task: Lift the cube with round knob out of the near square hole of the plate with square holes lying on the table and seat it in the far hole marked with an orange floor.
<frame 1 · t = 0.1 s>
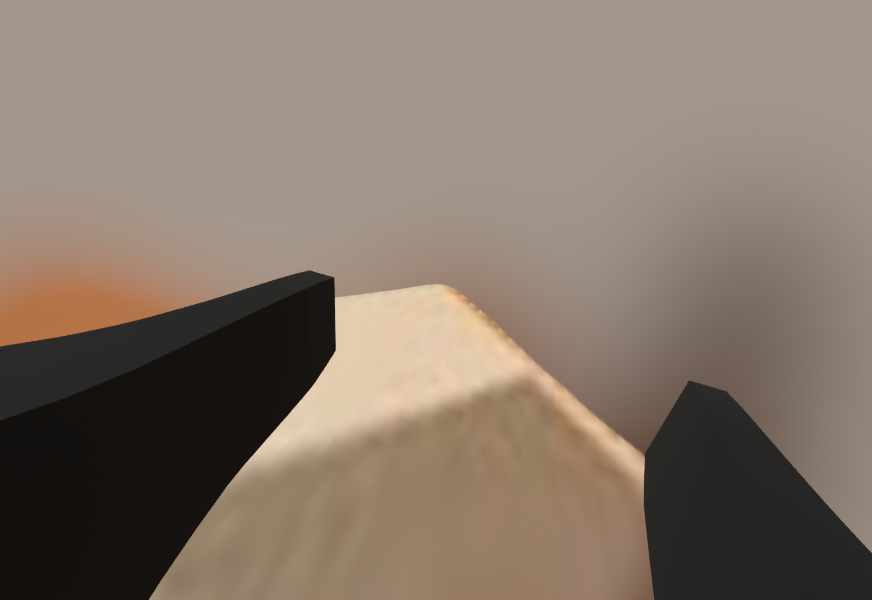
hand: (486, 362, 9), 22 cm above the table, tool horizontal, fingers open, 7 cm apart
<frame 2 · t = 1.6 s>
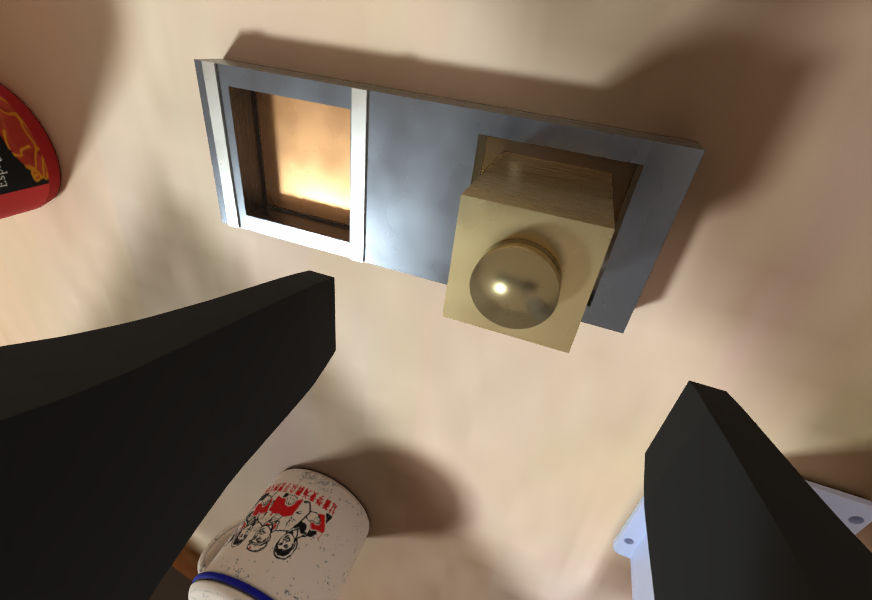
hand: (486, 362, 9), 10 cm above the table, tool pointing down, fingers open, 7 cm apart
cube with round knob: (542, 212, 17), resting in plate with square holes
teacup with lid: (310, 499, 35), on the table
plate with square holes: (419, 185, 18), on the table
canned food: (15, 142, 25), on the table
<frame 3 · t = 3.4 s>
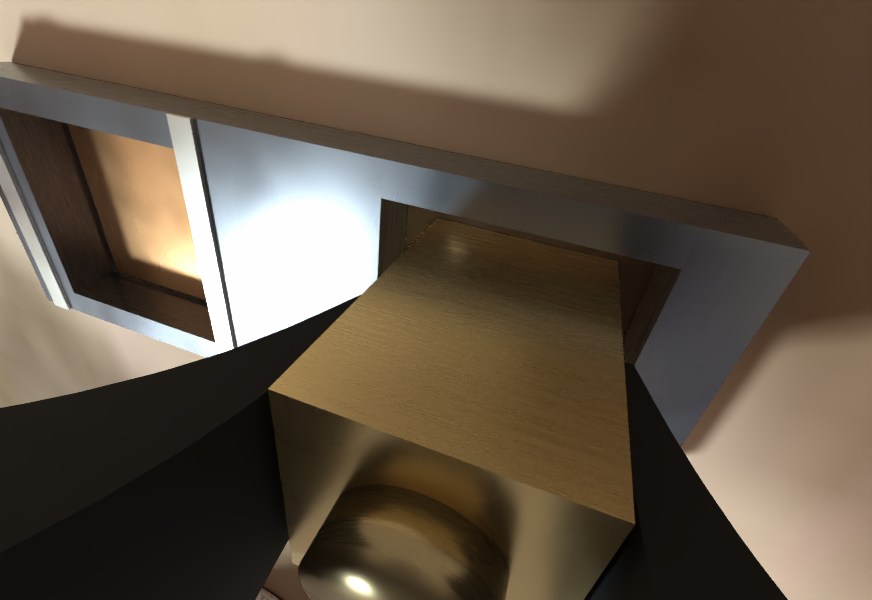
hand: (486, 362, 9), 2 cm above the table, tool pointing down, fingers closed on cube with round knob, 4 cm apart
cube with round knob: (504, 312, 10), resting in plate with square holes, touching gripper
plate with square holes: (316, 260, 11), on the table
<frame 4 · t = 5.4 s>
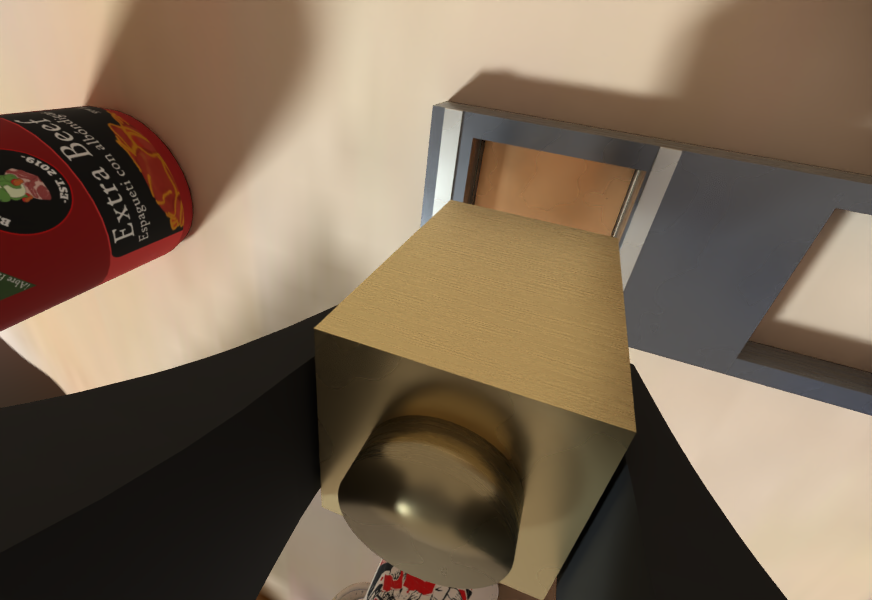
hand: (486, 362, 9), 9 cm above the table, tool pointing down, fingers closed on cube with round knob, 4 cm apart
cube with round knob: (512, 290, 11), point 6 cm above the table, touching gripper
teacup with lid: (425, 560, 32), on the table
plate with square holes: (687, 253, 15), on the table
canned food: (139, 182, 22), on the table
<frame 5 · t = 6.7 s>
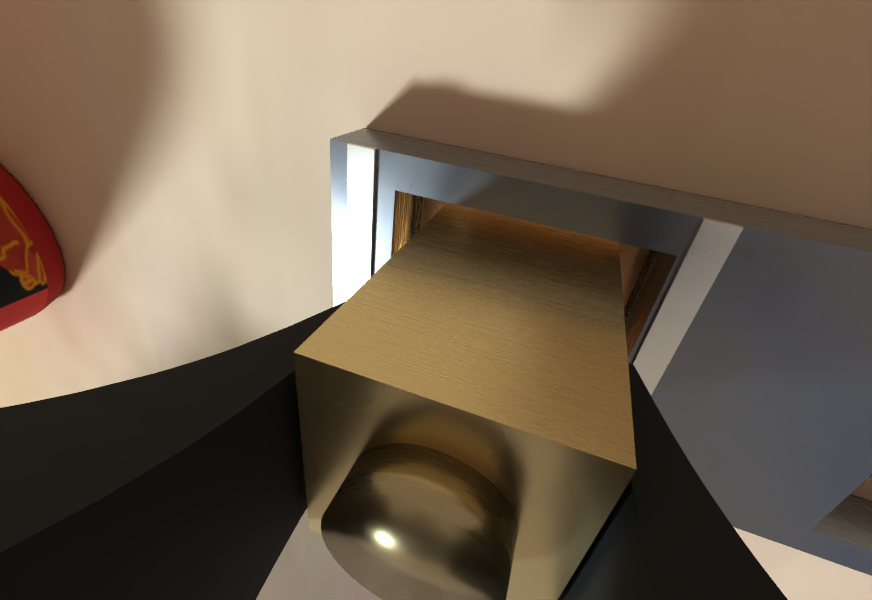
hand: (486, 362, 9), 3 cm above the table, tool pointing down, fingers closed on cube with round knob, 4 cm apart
cube with round knob: (509, 297, 11), resting on plate with square holes, touching gripper
plate with square holes: (732, 363, 10), on the table
when the fingers open (3 cm above the table, at t = 7.3 s): cube with round knob stays where it is, resting on plate with square holes.
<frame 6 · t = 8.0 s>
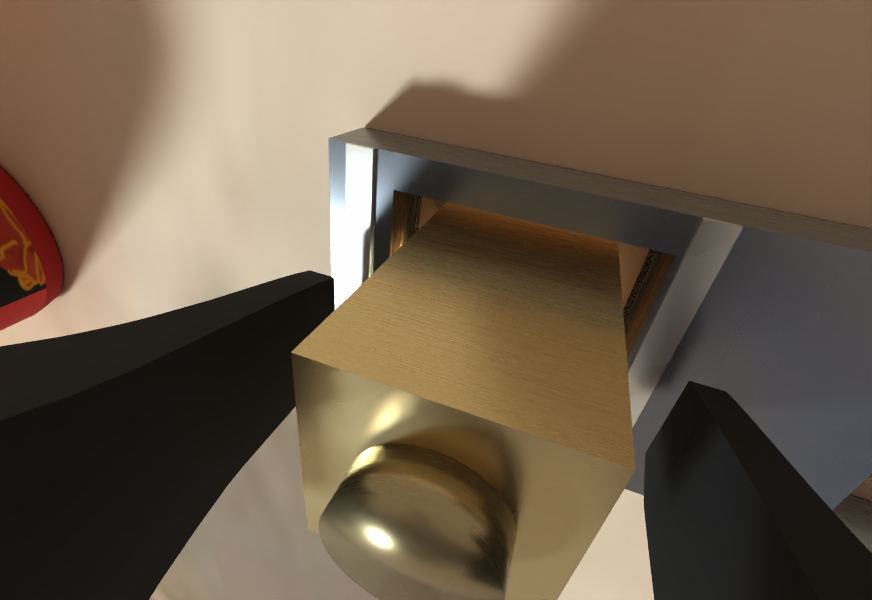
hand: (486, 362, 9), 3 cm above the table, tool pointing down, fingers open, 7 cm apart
cube with round knob: (508, 297, 11), resting on plate with square holes
plate with square holes: (732, 362, 10), on the table
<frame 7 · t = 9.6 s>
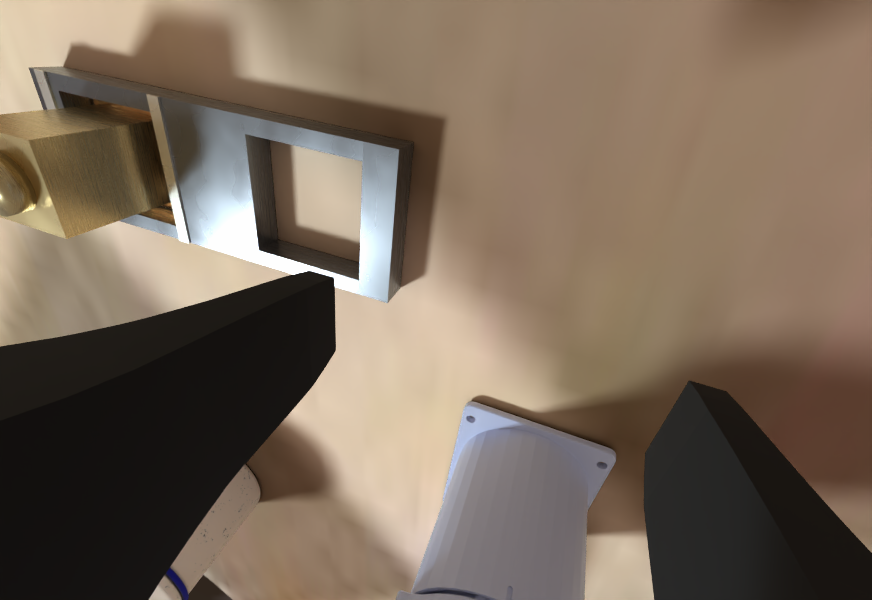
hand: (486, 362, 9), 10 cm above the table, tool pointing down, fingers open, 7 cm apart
cube with round knob: (144, 152, 22), resting on plate with square holes
teacup with lid: (211, 466, 38), on the table
plate with square holes: (230, 176, 21), on the table
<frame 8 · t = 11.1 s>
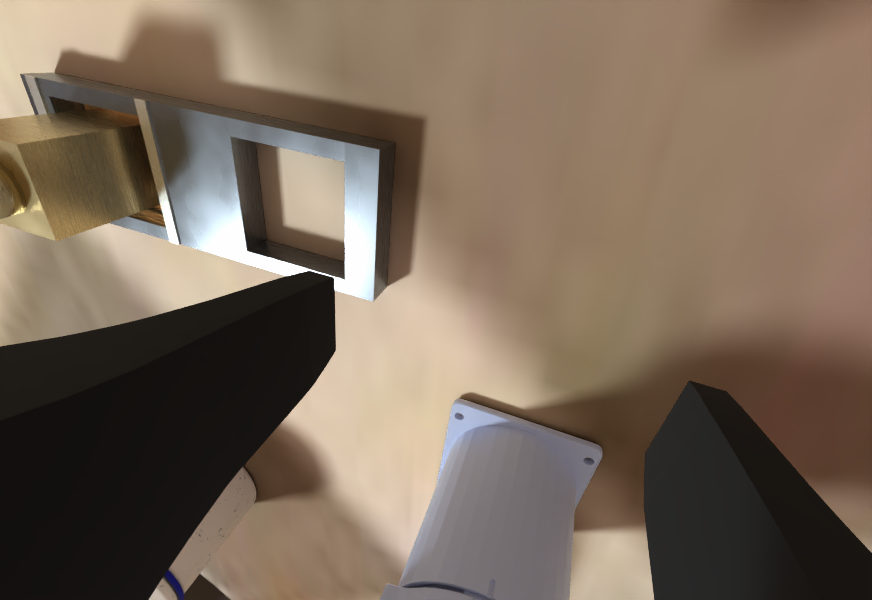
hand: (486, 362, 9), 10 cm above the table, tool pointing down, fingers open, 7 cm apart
cube with round knob: (134, 155, 22), resting on plate with square holes
teacup with lid: (207, 467, 38), on the table
plate with square holes: (218, 179, 21), on the table
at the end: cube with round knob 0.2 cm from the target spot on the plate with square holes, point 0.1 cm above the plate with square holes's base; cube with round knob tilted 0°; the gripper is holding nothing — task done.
